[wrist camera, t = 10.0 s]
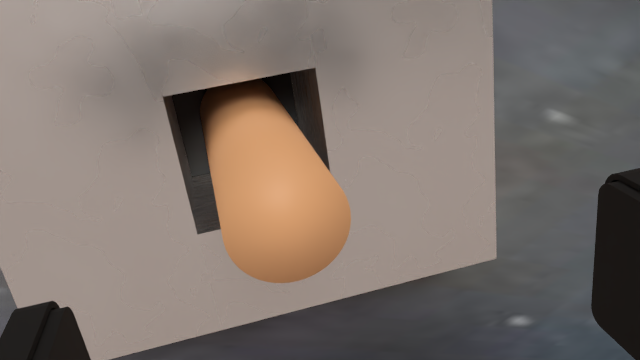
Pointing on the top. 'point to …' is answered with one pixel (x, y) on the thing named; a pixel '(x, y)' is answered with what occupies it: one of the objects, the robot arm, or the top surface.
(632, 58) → the top surface
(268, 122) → the peg
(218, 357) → the top surface
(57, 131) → the hole block
